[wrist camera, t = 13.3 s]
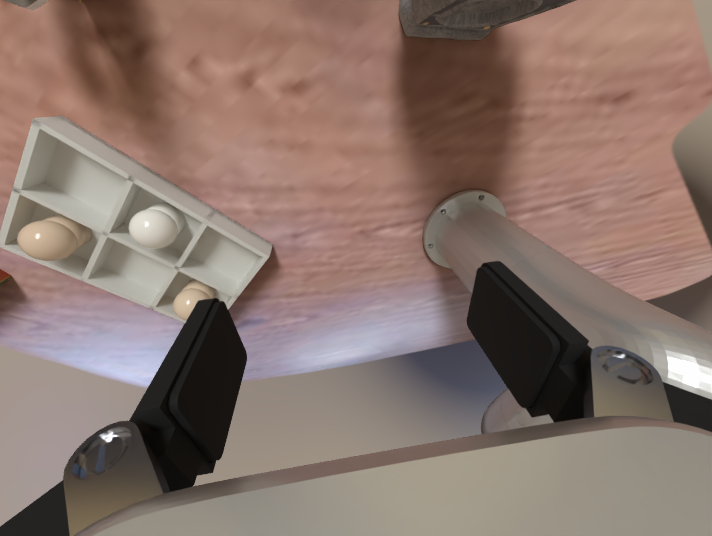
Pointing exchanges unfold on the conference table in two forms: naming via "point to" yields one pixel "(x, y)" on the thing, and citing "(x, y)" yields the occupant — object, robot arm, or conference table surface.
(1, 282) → the carton
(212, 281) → the egg tray
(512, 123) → the conference table surface
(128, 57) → the conference table surface
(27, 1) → the toy chair
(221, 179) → the conference table surface
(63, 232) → the egg in carton
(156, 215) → the loose egg
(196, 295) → the egg in carton
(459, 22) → the figurine
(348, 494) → the robot arm
